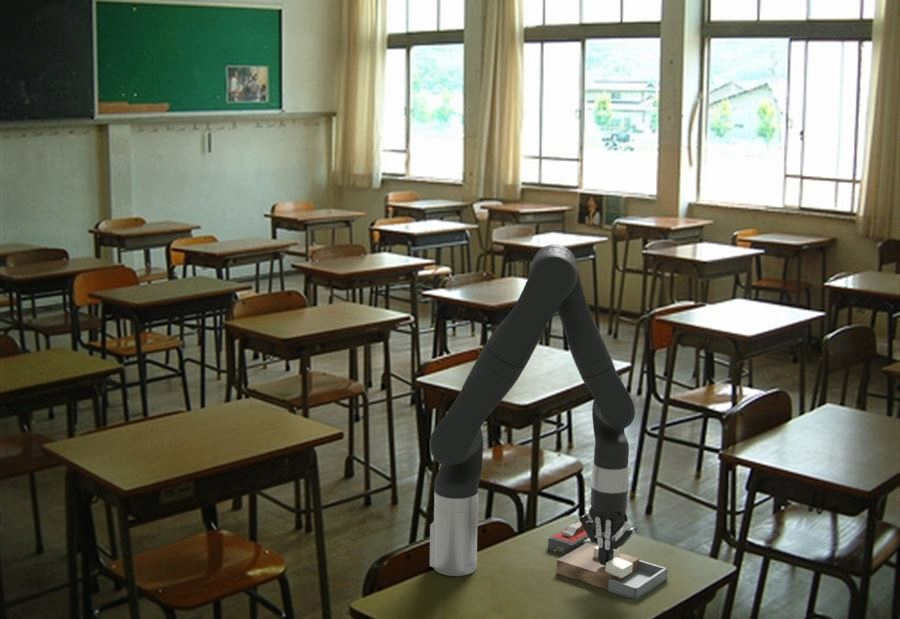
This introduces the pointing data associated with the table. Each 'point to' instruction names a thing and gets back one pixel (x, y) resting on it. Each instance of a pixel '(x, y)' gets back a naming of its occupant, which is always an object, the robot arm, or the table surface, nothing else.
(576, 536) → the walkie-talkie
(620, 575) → the tile
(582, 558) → the tan flat block
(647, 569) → the box
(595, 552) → the tile
